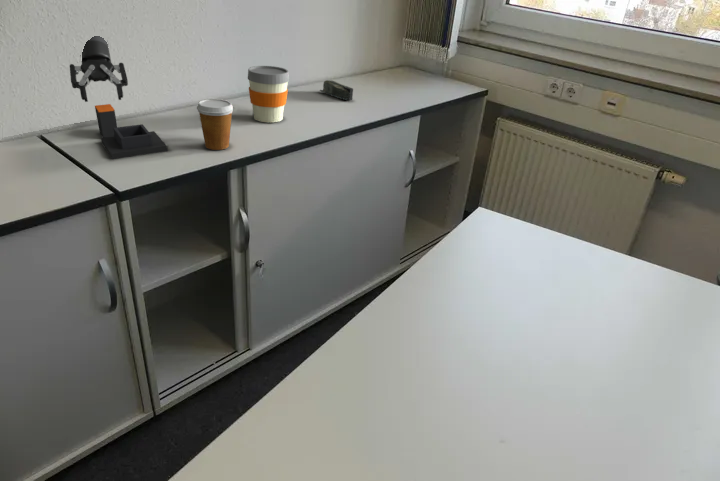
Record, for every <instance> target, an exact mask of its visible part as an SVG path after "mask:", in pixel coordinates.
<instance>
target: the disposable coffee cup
mask: <svg viewBox="0 0 720 481" xmlns="http://www.w3.org/2000/svg"><path fill="white" fill-rule="evenodd" d="M232 104H233V103H232V102H231V101H230V100H226V99H222V98H207V99H201V100H200V101H198V103H197V106H196V110H197V112H198V115H199V121H200V125H201V130H202V135H203V136H202V137H203V141H204V145H205V148H206V149H208V150H212V151H222V150H226V149H228V148H229V147H230V138H231V127H232V117H233V116H232V114H233V111H234V110H235V109H234V107H233V105H232Z"/></svg>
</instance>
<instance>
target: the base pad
mask: <svg viewBox="0 0 720 481" xmlns="http://www.w3.org/2000/svg"><path fill="white" fill-rule="evenodd" d="M113 130H114V136H112V137H105V138H102V137H101V138H100V141H101V144H102V146H103V147H104V150H106V152H107V154H108V155H109V157H110V158H111V160H114V159H115V160H116V159H117V160H118V159H122V158H123V159H124V158H129V157H130V158H131V157H136V156H142V155H144V156H145V155H149V154H156V153H163V152H168V145H167V144H166V143H165V142H164V141H163V139H162V138H161V137H160V136H159V135H158V133H156V131H155V130H152V131H149V129H148V128H146V126H145V125H144V124H143V123H142V124H141V123H140V124H133V125H125V126H117V127H115V128H113Z"/></svg>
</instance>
